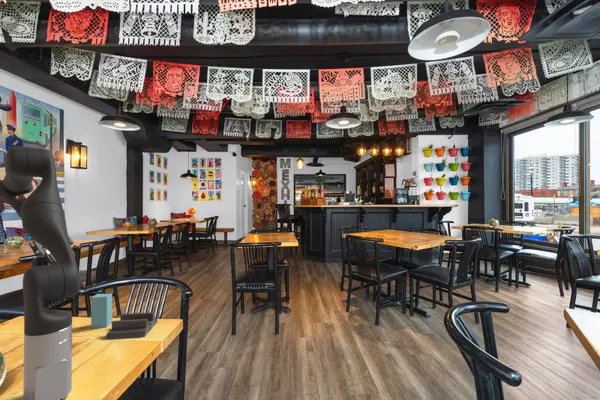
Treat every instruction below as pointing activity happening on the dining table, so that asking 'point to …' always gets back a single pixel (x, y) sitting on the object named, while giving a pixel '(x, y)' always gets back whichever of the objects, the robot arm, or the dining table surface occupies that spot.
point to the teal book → (101, 310)
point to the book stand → (132, 325)
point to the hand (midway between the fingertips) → (63, 259)
